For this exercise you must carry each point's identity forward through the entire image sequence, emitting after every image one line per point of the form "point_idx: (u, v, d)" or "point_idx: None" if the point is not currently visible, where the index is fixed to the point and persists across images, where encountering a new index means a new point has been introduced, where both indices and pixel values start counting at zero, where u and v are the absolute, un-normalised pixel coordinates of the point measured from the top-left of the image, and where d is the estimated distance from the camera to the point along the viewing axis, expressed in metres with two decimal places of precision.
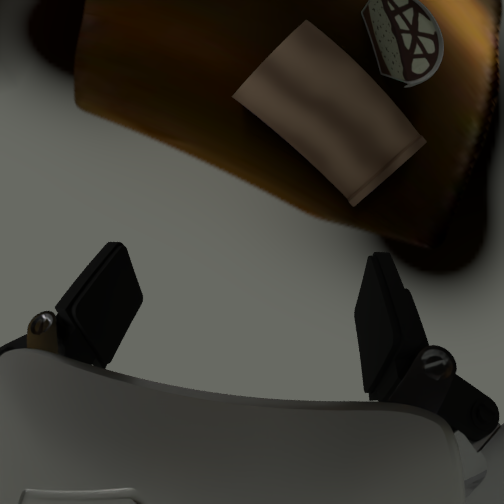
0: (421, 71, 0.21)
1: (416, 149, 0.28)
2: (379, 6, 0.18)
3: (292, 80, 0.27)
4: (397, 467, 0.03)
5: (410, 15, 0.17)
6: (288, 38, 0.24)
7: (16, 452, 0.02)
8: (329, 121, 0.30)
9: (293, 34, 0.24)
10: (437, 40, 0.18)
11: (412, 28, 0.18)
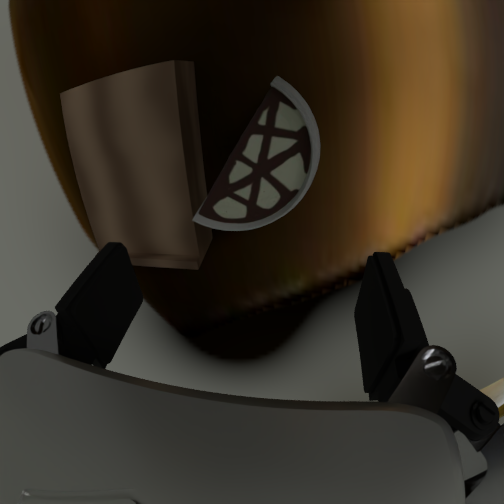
0: (226, 215, 0.21)
1: (182, 267, 0.29)
2: None
3: (109, 117, 0.21)
4: (397, 467, 0.03)
5: (280, 147, 0.18)
6: (138, 69, 0.19)
7: (16, 452, 0.02)
8: (115, 179, 0.25)
9: (147, 68, 0.19)
10: (288, 200, 0.20)
11: (264, 165, 0.18)
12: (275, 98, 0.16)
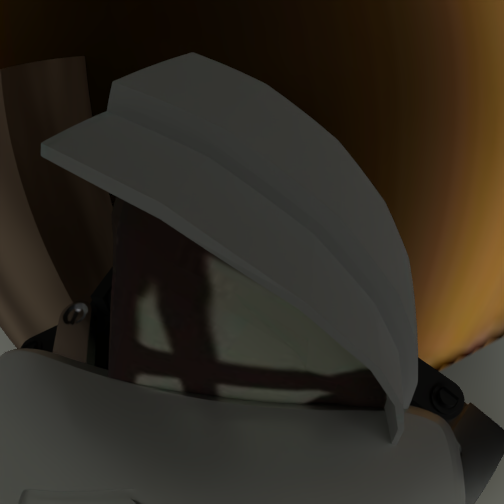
0: None
1: None
2: None
3: None
4: (397, 467, 0.03)
5: None
6: None
7: (16, 452, 0.02)
8: None
9: None
10: None
11: None
12: (171, 234, 0.02)
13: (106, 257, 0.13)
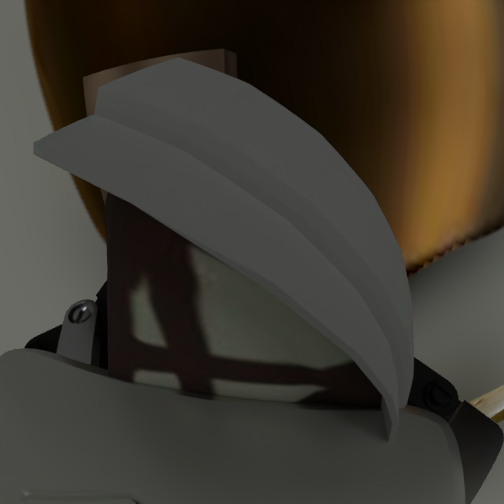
0: None
1: None
2: None
3: None
4: (397, 467, 0.03)
5: None
6: (181, 55, 0.17)
7: (16, 452, 0.02)
8: None
9: (191, 55, 0.17)
10: None
11: None
12: (157, 226, 0.02)
13: None
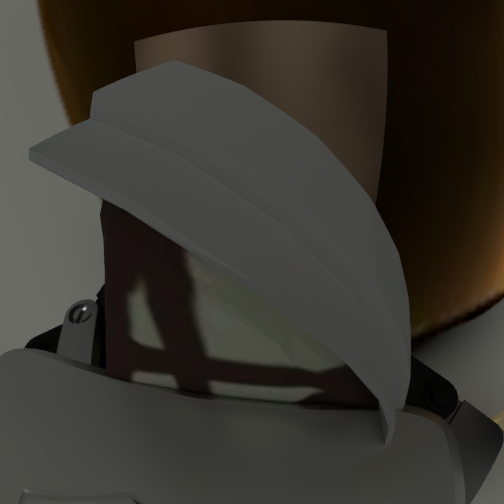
0: None
1: None
2: None
3: None
4: (397, 467, 0.03)
5: None
6: (321, 25, 0.10)
7: (16, 452, 0.02)
8: None
9: (337, 27, 0.10)
10: None
11: None
12: (152, 230, 0.02)
13: None
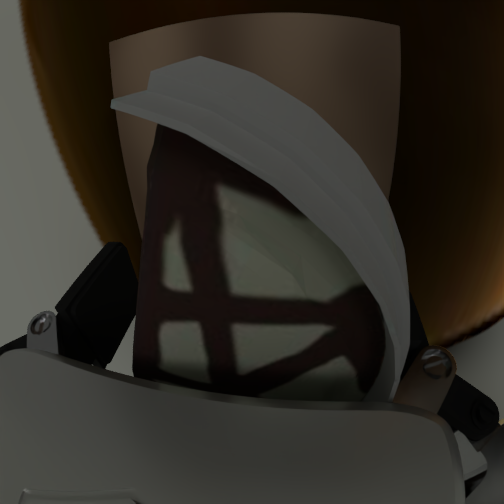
0: None
1: None
2: None
3: None
4: (397, 467, 0.03)
5: (272, 351, 0.05)
6: (324, 18, 0.08)
7: (16, 452, 0.02)
8: None
9: (343, 21, 0.08)
10: None
11: (235, 385, 0.06)
12: (191, 172, 0.03)
13: None
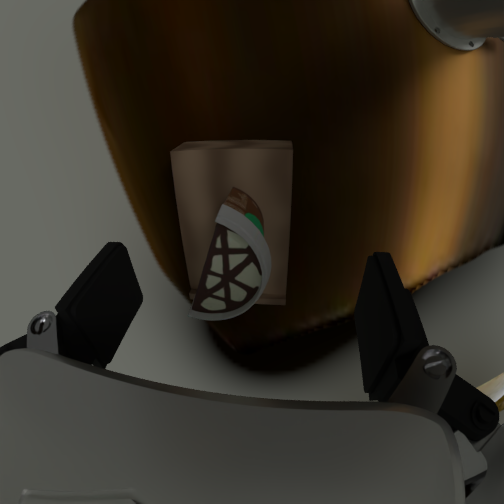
0: (211, 308, 0.28)
1: (272, 303, 0.37)
2: None
3: (226, 184, 0.30)
4: (397, 467, 0.03)
5: (237, 261, 0.24)
6: (260, 150, 0.28)
7: (16, 452, 0.02)
8: None
9: (268, 151, 0.28)
10: (253, 294, 0.26)
11: (229, 274, 0.25)
12: (223, 227, 0.23)
13: None
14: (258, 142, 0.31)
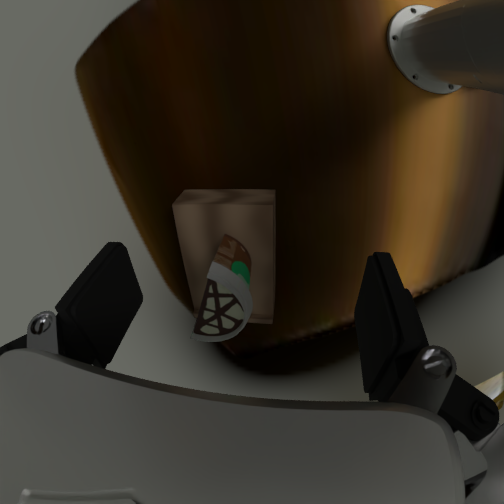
0: (208, 332, 0.35)
1: (261, 322, 0.45)
2: None
3: (219, 231, 0.37)
4: (397, 467, 0.03)
5: (225, 302, 0.31)
6: (245, 206, 0.35)
7: (16, 452, 0.02)
8: None
9: (252, 206, 0.35)
10: (239, 324, 0.33)
11: (220, 310, 0.32)
12: (213, 280, 0.30)
13: (274, 256, 0.42)
14: (246, 193, 0.37)
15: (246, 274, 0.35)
